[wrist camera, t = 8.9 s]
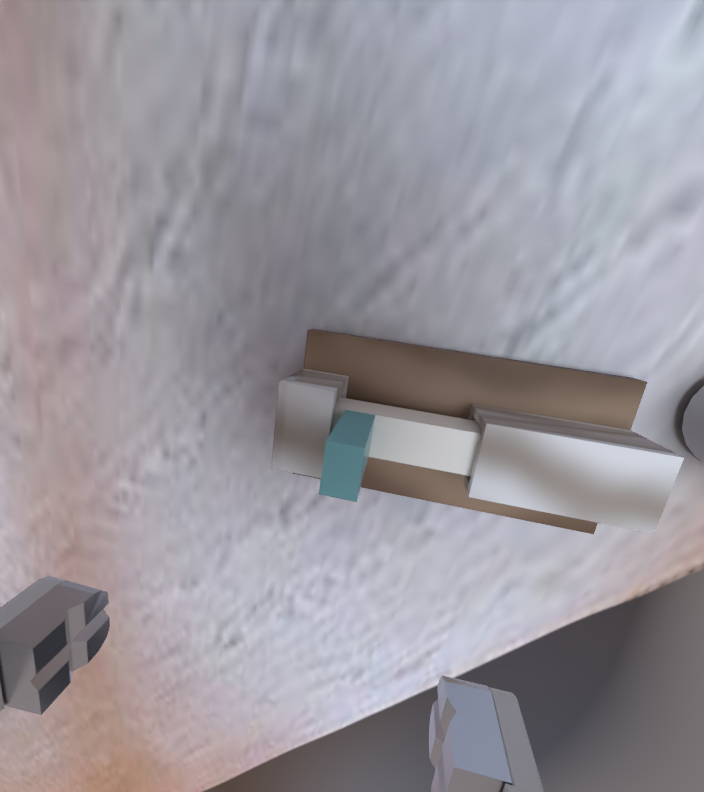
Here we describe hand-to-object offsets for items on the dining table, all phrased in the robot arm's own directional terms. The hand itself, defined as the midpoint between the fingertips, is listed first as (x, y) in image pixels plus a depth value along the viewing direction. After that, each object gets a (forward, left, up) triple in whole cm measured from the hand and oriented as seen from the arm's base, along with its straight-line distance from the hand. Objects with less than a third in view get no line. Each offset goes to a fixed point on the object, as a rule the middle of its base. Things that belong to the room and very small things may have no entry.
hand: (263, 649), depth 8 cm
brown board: (0, +7, -22) cm, 23 cm away
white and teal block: (0, +4, -19) cm, 19 cm away
